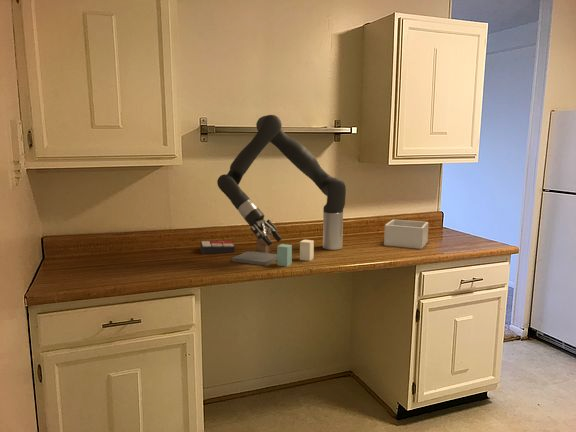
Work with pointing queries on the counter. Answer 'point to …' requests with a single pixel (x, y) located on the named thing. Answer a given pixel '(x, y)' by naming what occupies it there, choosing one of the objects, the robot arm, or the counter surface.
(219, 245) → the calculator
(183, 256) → the counter surface
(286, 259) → the teal block
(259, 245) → the walnut block
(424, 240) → the box
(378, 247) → the counter surface
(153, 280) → the counter surface
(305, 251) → the cream block
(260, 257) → the grey flat slab
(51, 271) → the counter surface
